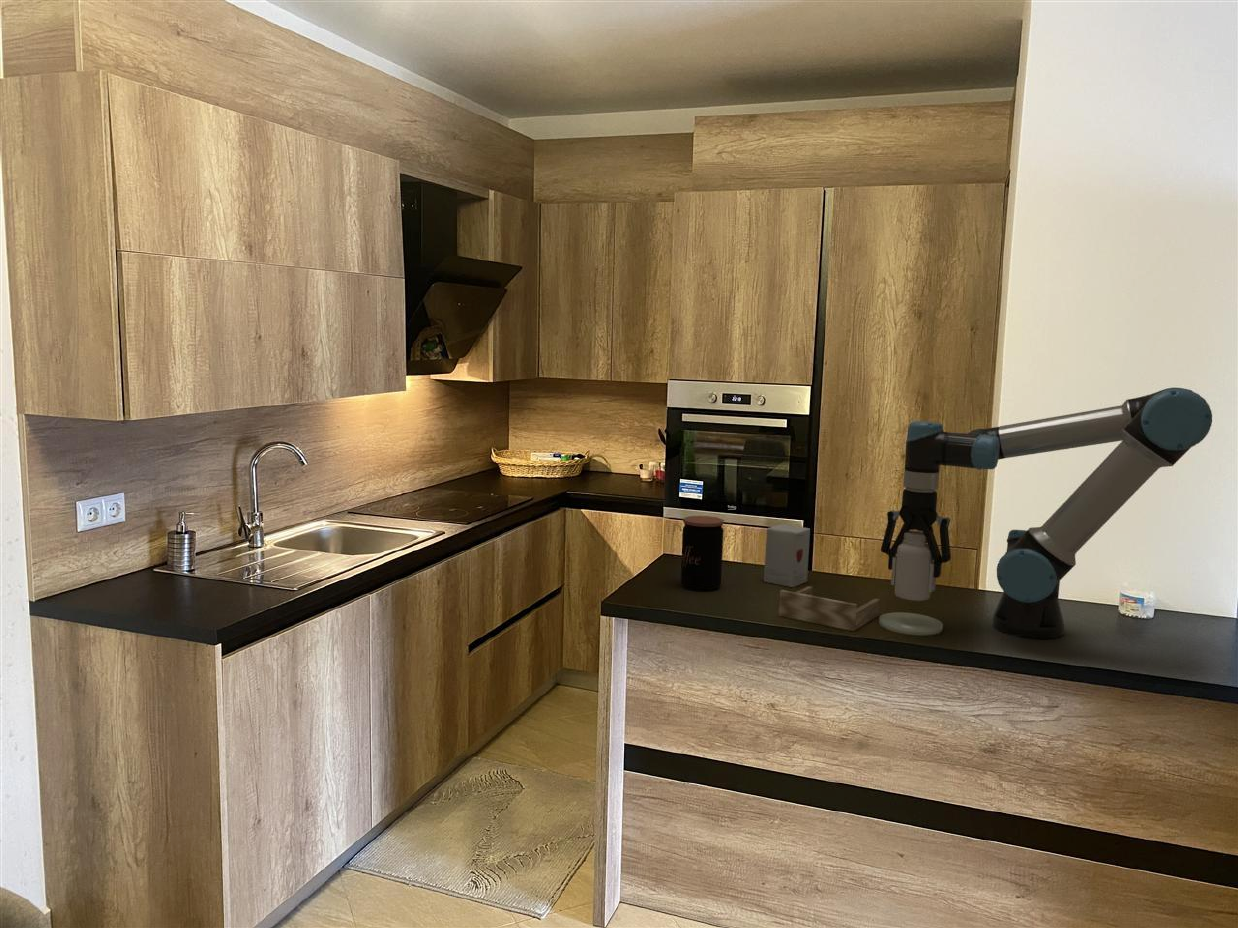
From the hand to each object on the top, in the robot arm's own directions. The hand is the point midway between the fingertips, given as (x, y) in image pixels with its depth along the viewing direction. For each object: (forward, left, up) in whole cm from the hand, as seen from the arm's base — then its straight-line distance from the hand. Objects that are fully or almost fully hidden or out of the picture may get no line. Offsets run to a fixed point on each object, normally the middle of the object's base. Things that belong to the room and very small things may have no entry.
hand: (912, 587), depth 211 cm
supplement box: (+40, -18, -9) cm, 45 cm away
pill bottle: (0, 0, -2) cm, 2 cm away
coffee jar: (+55, +2, -9) cm, 56 cm away
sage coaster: (0, 0, -9) cm, 9 cm away
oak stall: (+18, +4, -9) cm, 20 cm away
